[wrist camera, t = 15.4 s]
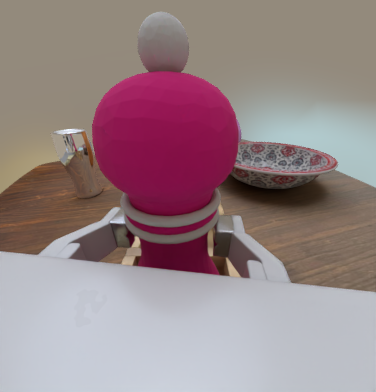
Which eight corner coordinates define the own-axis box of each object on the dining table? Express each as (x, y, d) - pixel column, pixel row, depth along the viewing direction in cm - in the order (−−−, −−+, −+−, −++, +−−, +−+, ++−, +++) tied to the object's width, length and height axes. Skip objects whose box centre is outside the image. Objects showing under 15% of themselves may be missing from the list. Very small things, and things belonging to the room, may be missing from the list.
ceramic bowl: (202, 167, 60) (203, 143, 56) (278, 162, 63) (283, 140, 59) (234, 214, 34) (239, 178, 30) (357, 201, 38) (376, 168, 34)
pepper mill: (235, 360, 13) (370, -45, 3) (138, 400, 11) (-163, -200, 2) (202, 278, 19) (217, 50, 9) (136, 296, 17) (71, 39, 8)
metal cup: (96, 199, 40) (75, 133, 33) (67, 199, 41) (40, 134, 33) (108, 186, 47) (93, 128, 39) (83, 186, 47) (63, 128, 39)
